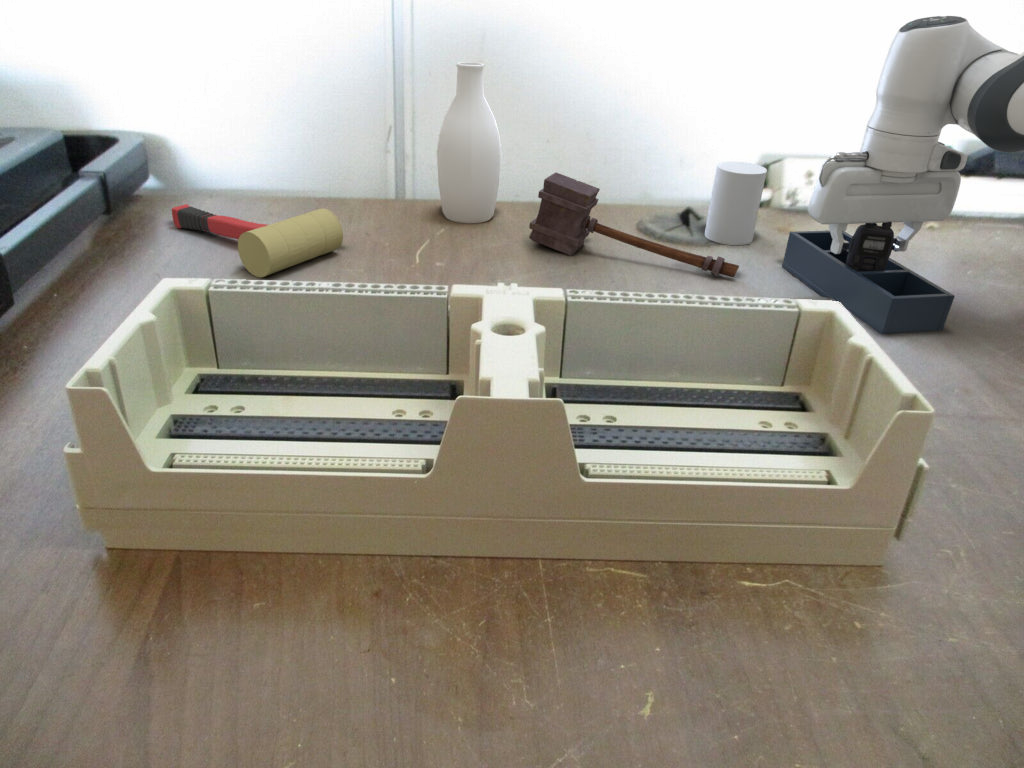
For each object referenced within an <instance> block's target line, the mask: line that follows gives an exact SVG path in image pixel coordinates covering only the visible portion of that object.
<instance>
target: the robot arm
mask: <svg viewBox="0 0 1024 768" xmlns="http://www.w3.org/2000/svg"><path fill="white" fill-rule="evenodd" d="M875 98H876V99H875V105H874V109H873V112H872V113H871V115H870V117H869V119H868V121H867V124H866V127H865V132H864V134H863V138H862V143H861V146H860V150H859V151H854V152H844V151H840V152H835V153H833V155H831V156H830V157H828V158H827V159H825V161H823V162H822V164H821V166H820V171H819V174H818V179H817V181H816V183H815V186H814V188H813V191H812V194H811V197H810V200H809V203H808V206H807V213H808V215H809V217H810V219H812V220H814V221H815V222H817V223H819V224H820V225H828V226H827V227H828V231H830V233H831V236H832V239H833V240H832V244H831V252H833V253H834V254H845V253H846V252H847V248H848V246H849V242H848V241H845V240H844V239H843V234H842V231H845V232H846V231H847V229H848V228H847V227H848V225H853V224H865V223H876V224H882V223H887V222H892V223H902V224H903V225H904V227H903V228H902V229H901V231H900V232H899V233H898V235H896V236H895V235H894V244H893V248H892V251H893V252H895V253H898V252H903V253H904V252H907V249H908V246H909V243H910V241H911V240H912V239H913V238H914V237H915V236H916V235H917V234H918V232H920V230H921V229H922V226H923V223H924V222H942V221H945V220H946V219H947V218H948V217H949V216H950V215H951V214H952V211H953V209H954V207H955V204H956V201H957V198H958V194H959V191H960V187H961V182H962V181H961V180H962V176H961V174H960V172H959V171H961V170H964V168H965V166H966V164H967V162H968V155H967V154H965V153H964V152H962V151H959V150H957V149H954V148H953V147H950V146H947V145H946V143H943V142H940V141H939V140H940V136H941V133H942V130H943V128H944V127H946V126H947V125H957V126H959V127H960V128H961V129H963V130H965V131H967V132H968V133H970V134H972V135H974V136H975V137H976V138H977V139H979V140H980V141H981V142H982V143H983V144H984V145H985V146H987V147H988V148H990V149H992V150H995V151H997V152H1003V153H1017V152H1018V153H1019V152H1023V151H1024V51H1023V52H1021V53H1020V54H1019V53H1017V52H1013V51H1009V50H1008V49H1006V48H1004V47H1002V46H1000V45H997V44H996V43H994V42H992V41H991V40H989V39H987V38H986V37H984V36H983V35H982V34H980V33H979V32H978V31H977V30H976V29H974V27H972V26H971V24H970V23H969V21H968V19H967V18H965V17H962V16H958V15H945V16H941V15H936V16H935V15H934V16H927V17H921V18H917V19H916V18H915V19H914V20H911V21H908V22H907V23H905V24H904V25H902V26H901V27H900V28H899V29H898V31H897V32H896V33H895V35H894V37H893V39H892V41H891V44H890V45H889V48H888V51H887V54H886V56H885V59H884V62H883V66H882V68H881V71H880V74H879V79H878V81H877V85H876V90H875Z"/></svg>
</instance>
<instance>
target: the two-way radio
mask: <svg viewBox="0 0 1024 768" xmlns="http://www.w3.org/2000/svg"><path fill="white" fill-rule="evenodd" d="M892 226H893V222H887V223H881V225H878V223H862V224H859V226H857V228H856V230H855V231H854V233H853V235H851V236H852V239H851V243H850V246H849V250H848V251H849V253H848V256H847V260H846V263H845V264H846V265H847V266H849V267H850V268H852V269H853V270H855V271H856V272H862V271H885V269H886V265H887V262H888V259H889V258H891V255H892V251H893V250H892V248H893V244H894V236H895V232H894V230H893V229H892Z"/></svg>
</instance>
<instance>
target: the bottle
mask: <svg viewBox="0 0 1024 768" xmlns="http://www.w3.org/2000/svg"><path fill="white" fill-rule="evenodd" d="M455 66H456V69H457V71H456V73H457V74H456V93H455V96H454V98H453V100H452V101H451V103H450V106H449V107H448V110H447V111H446V113H445V115H444V116H443V120H442V124H441V127H440V131H439V134H438V142H437V149H436V164H437V182H438V189H439V197H440V202H441V209H442V214H443V215H444V217H445V218H446V219H447V220H449V221H451V222H455V223H460V224H479V223H485V222H488V221H490V220H491V219H492V218H493V216H494V215H495V211H496V210H495V209H496V205H497V198H498V192H499V187H500V179H501V178H500V177H501V166H502V165H501V164H502V145H501V137H500V132H499V128H498V124H497V120H496V117H495V115H494V113H493V111H492V109H491V107H490V105H489V103H488V101H487V99H486V96H485V95H484V94H485V90H484V89H485V86H484V85H485V84H484V68H485V64H484V63H483V62H477V61H459V62H457V63H456V65H455Z"/></svg>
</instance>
